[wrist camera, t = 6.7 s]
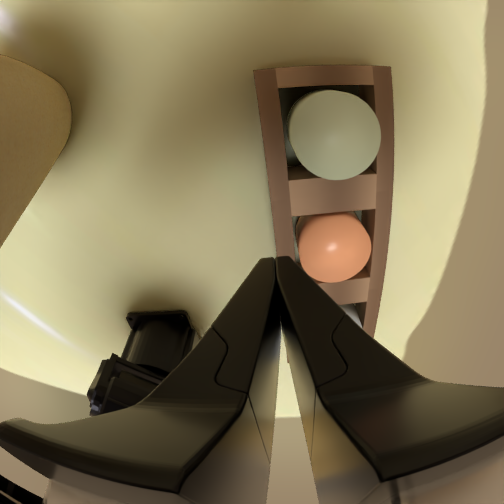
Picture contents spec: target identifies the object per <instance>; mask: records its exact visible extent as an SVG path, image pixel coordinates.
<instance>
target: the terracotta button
mask: <svg viewBox="0 0 504 504" xmlns="http://www.w3.org/2000/svg"><path fill="white" fill-rule="evenodd" d="M295 237H296V242H297V247H298V252H299V257H300V262H301V265H302V267H303V269H304V270H305V272H306V273H307V274H308V275H309V276H311V277H312V278H314V279H316V280H318V281H321V282H327V283H334V282H341V281H344V280H347V279H349V278H351V277H353V276H354V275H356V274H357V273H358V272H360V271H361V270H362V268H363V267H364V266H365V265H366V263H367V261H368V259H369V257H370V253H371V241H370V237H369V235H368V233H367V232H366V230H365V228H364V227H363V225H362V224H361V222H360V220H359V219H358V217H357V216H356V214H355V213H354V211H344V212H333V213H323V214H312V215H302V216H301V217H300V218H299V220H298V222H297V225H296V229H295Z"/></svg>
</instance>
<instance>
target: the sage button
mask: <svg viewBox="0 0 504 504" xmlns="http://www.w3.org/2000/svg"><path fill="white" fill-rule="evenodd" d="M286 128H287V136H288V139H289V142H290V144H291V146H292V148H293V150H294V152H295V154H296V156H297V158H298V159H299V161H300V162H301V163H302V165H303V166H304V167H305V168H306V169H307V170H309V171H310V172H311V173H313V174H315V175H317V176H319V177H321V178H324V179H329V180H344V179H349V178H352V177H354V176H357V175H358V174H360V173H362V172H363V171H364V170H366V169H367V168H368V167H369V166H370V164H371V163H372V162H373V161H374V159H375V157H376V155H377V153H378V151H379V147H380V142H381V130H380V125H379V122H378V119H377V117H376V115H375V113H374V112H373V110H372V109H371V108H370V106H369V105H368V104H367V103H366V102H364V101H363V100H362V99H360V98H359V97H357V96H355V95H353V94H350V93H347V92H341V91H335V90H328V89H321V90H315V91H312V92H309V93H307V94H305V95H303V96H302V97H301V98H299V99H298V100H297V101H296V102H295V104H294V105H293V106H292V108H291V110H290V112H289V114H288V118H287V125H286Z"/></svg>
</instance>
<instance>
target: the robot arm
mask: <svg viewBox="0 0 504 504" xmlns="http://www.w3.org/2000/svg"><path fill="white" fill-rule="evenodd" d="M181 315H182V316H181ZM280 317H281V318H280ZM126 319H127V321H128V323H129V325H130V327H131V329H132V330H131V333H130V335H129V338H128V340H127V343H126V345H125V348H124V350H123V353H122V356H121V358H120V357H118V355H116V354H114V353H112V355H111V358H110V359H107V360H102V362H101V365H100V367H99V370H98V372H97V374H96V376H95V378H94V380H93V382H92V384H91V386H90V388H89V390H88V392H87V397H88V399H89V401H90V407H91V411H90V416H92V417H89V418H85V419H80V420H75V421H71V422H65V423H59V424H39V423H34V422H31V421H28V420H25V419H22V418H15V419H10V420H7V421H3V422H1V423H0V446H1V447H2V448H4V449H5V450H6V451H7V452H9V453H10V454H11V455H13V456H14V457H16V458H17V459H19V460H20V461H22V462H23V463H25V464H26V465H28V466H29V467H31V468H32V469H34V470H35V471H37V472H39V473H40V474H42V475H44V476H45V477H47V478H49V481H48V485H47V488H46V492H45V495H44V499H43V498H41V497H39V496H37V495H35V494H33V493H31V492H29V491H27V490H26V489H24V488H22V487H20V486H18V485H17V484H15V483H13V482H11V481H10V480H8V479H6V478H4V477H3V476H1V475H0V504H266V500H267V491H268V483H269V474H270V463H271V454H272V443H273V433H274V421H275V410H276V398H277V386H278V372H279V358H280V343H281V326H282V332H283V337H284V342H285V346H286V351H287V355H288V360H289V364H290V369H291V373H292V378H293V382H294V387H295V391H296V396H297V400H298V405H299V410H300V414H301V419H302V424H303V428H304V433H305V437H306V442H307V446H308V451H309V456H310V461H311V466H312V471H313V475H314V480H315V485H316V490H317V495H318V500H319V504H504V387H503V388H502V387H501V388H500V387H486V386H473V385H462V384H453V383H444V382H437V381H433V380H430V379H428V378H425V377H423V376H422V375H420V374H418V373H417V372H415V371H414V370H413V369H411V368H410V367H409V366H408V365H406V364H405V363H404V362H403V361H401V360H400V359H399V358H397V357H396V356H395V355H394V354H392V353H391V352H390V351H389V350H387V349H386V348H385V347H383V346H382V345H381V344H380V343H378V342H377V341H376V340H375V339H374V338H372V337H371V336H370V335H369V334H368V333H366V332H365V331H364V330H363V329H362V328H361V327H360V326H359V325H358V324H357V323H356V322H355V321H354V320H353V319H352V318H351V317H350V316H349V315H348V314H346V312H345V311H344V310H343V309H342V308H341V307H340V306H339V305H338V304H337V303H336V302H335V301H334V300H333V299H332V298H331V297H330V296H329V295H328V294H327V293H326V292H325V291H324V290H323V289H322V288H321V287H320V286H319V285H318V284H317V283H316V282H315V281H314V280H313V279H312V278H311V277H310V276H309V275H308V274H307V273H306V272H305V271H304V270H303V269H302V268H301V267H300V266H299V265H298V264H297V263H296V262H295V261H294V260H293V259H292V258H291V257H290V256H278V257H276V258H275V259H274V258H273V257H269V258H261V259H260V260H259V261H258V263H257V264H256V265H255V267H254V268H253V269H252V271H251V272H250V274H249V275H248V276H247V278H246V279H245V280H244V282H243V283H242V284H241V286H240V287H239V289H238V290H237V291H236V293H235V294H234V295H233V297H232V298H231V299H230V301H229V302H228V303H227V305H226V306H225V308H224V309H223V310H222V312H221V313H220V314H219V316H218V317H217V318H216V320H215V321H214V322H213V324H212V325H211V327H210V328H209V329H208V330H207V332H206V333H205V334H204V336H203V337H202V338H201V340H200V339H199V337H198V334H197V331H196V330H195V329H193V326H192V324H191V321H190V318H189V316H188V314H187V312H185V311H165V312H143V313H128V315H127V317H126Z"/></svg>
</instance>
